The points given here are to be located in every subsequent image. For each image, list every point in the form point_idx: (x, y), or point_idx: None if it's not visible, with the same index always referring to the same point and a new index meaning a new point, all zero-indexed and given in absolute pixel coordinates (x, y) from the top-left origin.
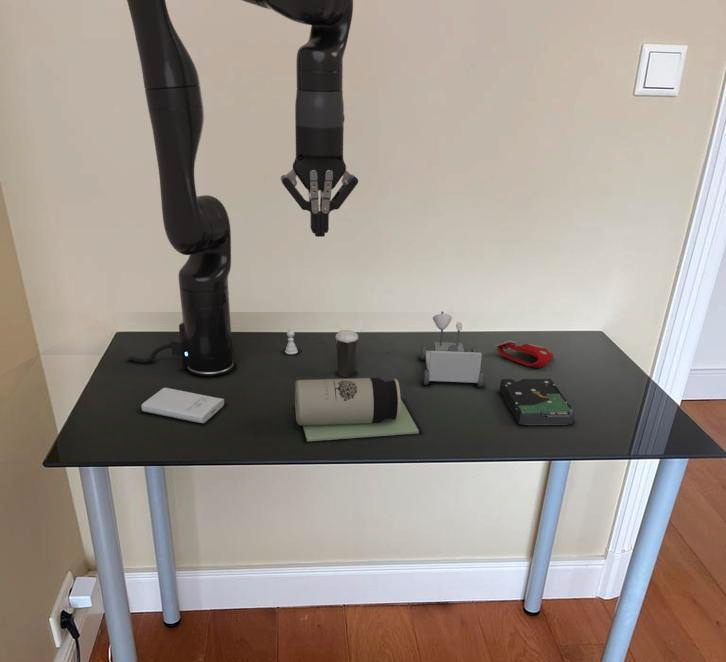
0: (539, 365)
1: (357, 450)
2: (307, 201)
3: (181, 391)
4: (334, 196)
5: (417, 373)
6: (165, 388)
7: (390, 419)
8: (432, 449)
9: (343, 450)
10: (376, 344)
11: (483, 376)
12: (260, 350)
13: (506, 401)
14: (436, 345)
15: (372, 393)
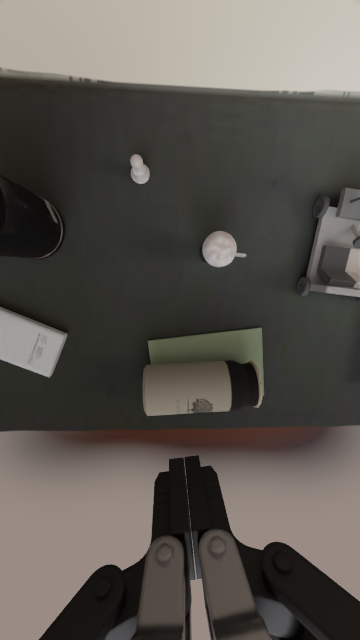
0: None
1: (201, 421)
2: (129, 630)
3: (11, 318)
4: (302, 618)
5: (296, 253)
6: None
7: None
8: (268, 420)
9: (189, 421)
10: (264, 147)
11: None
12: (95, 164)
13: None
14: (345, 201)
15: (228, 410)
